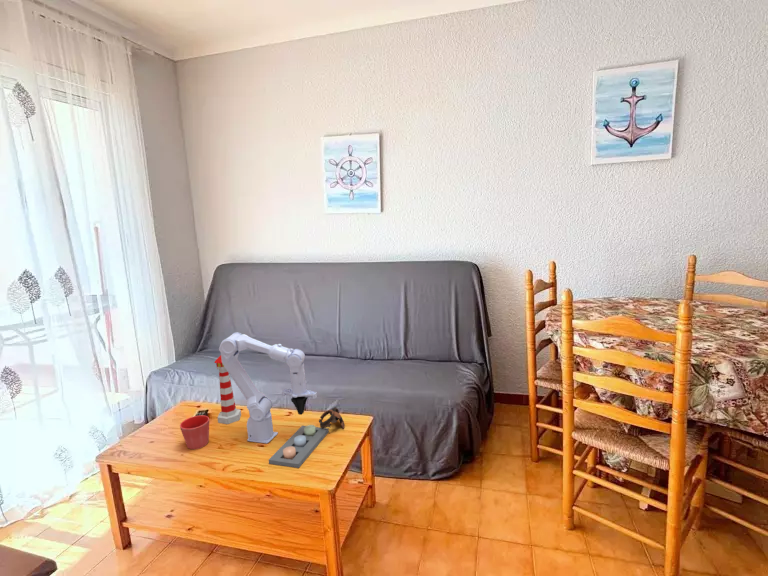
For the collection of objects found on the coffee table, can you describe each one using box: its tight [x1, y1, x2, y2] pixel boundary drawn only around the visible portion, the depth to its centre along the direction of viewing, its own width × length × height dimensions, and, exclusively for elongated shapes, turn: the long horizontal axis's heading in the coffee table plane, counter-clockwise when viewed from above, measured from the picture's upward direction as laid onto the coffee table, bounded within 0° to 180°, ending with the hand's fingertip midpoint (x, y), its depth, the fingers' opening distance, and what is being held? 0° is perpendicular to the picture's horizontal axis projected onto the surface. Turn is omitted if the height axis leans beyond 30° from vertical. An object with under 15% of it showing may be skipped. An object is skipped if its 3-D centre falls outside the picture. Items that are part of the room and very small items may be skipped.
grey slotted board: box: [268, 425, 330, 469], centre depth 158 cm, size 12×25×2 cm, turn 163°
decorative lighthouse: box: [213, 354, 242, 425], centre depth 182 cm, size 10×9×30 cm
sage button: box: [304, 424, 316, 436], centre depth 166 cm, size 4×4×3 cm
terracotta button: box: [283, 446, 296, 460], centre depth 151 cm, size 4×4×3 cm
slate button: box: [294, 435, 306, 447], centre depth 158 cm, size 4×4×3 cm
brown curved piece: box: [318, 407, 345, 430], centre depth 173 cm, size 12×10×8 cm
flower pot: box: [179, 414, 210, 450], centre depth 164 cm, size 11×11×10 cm
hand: (301, 413), depth 164 cm, fingers closed
